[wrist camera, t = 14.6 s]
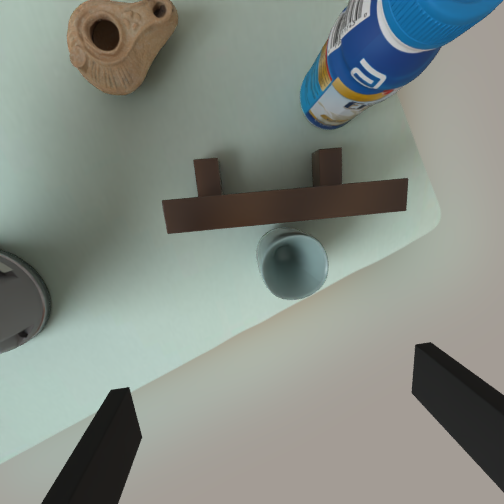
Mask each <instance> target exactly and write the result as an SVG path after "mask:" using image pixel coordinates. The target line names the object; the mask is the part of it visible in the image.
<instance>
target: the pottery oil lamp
mask: <svg viewBox="0 0 504 504" xmlns="http://www.w3.org/2000/svg"><path fill="white" fill-rule="evenodd" d="M177 24H178V14H177V10H176V8H175V6H174V5H173V4H172V2H171V1H170V0H142V1H139V2H135V3H123V2H116V1H110V0H88V1H86V2H84V3H82V4H80V5H79V7H78V8H76V9H75V11H74V12H73V13H72V15H71V17H70V20H69V24H68V32H67V43H68V48H69V52H70V61H71V63H72V64H73V66H75V67H76V68H78V70H79V71H80V73H81V74H82V75H83V77H84V78H85V79H86V80H87V81H88V82H90V83H91V84H92V85H93V86H95V87H96V88H98V89H99V90H101V91H102V92H104V93H108V94H111V95H127V94H130V93H132V92H134V91H135V90H136V89H137V88H138V87H139V86H140V85H141V84H142V82H143V81H144V79H145V77H146V75H147V72H148V70H149V68H150V66H151V64H152V62H153V60H154V59H155V57H156V55H157V54H158V52H159V51H160V50H161V48H162V47H163V46H164V45H165V43H166V42H167V40H168V39H169V38H170V36H171V35H172V34H173V32H174V30H175V28H176V26H177Z"/></svg>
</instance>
